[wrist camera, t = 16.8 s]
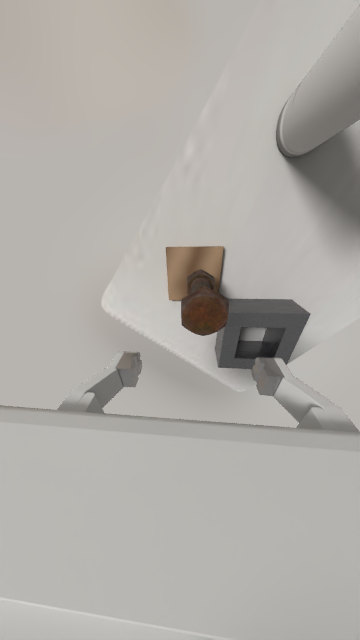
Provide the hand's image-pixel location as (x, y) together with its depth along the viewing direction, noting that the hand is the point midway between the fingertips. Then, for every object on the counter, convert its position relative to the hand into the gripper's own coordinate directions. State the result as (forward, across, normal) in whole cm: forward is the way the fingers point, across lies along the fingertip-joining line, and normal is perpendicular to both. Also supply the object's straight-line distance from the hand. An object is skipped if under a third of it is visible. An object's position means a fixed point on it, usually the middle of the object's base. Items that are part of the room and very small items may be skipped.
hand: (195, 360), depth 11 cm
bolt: (+22, -1, 0) cm, 22 cm away
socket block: (+23, -13, +12) cm, 29 cm away
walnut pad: (+23, 0, 0) cm, 23 cm away
